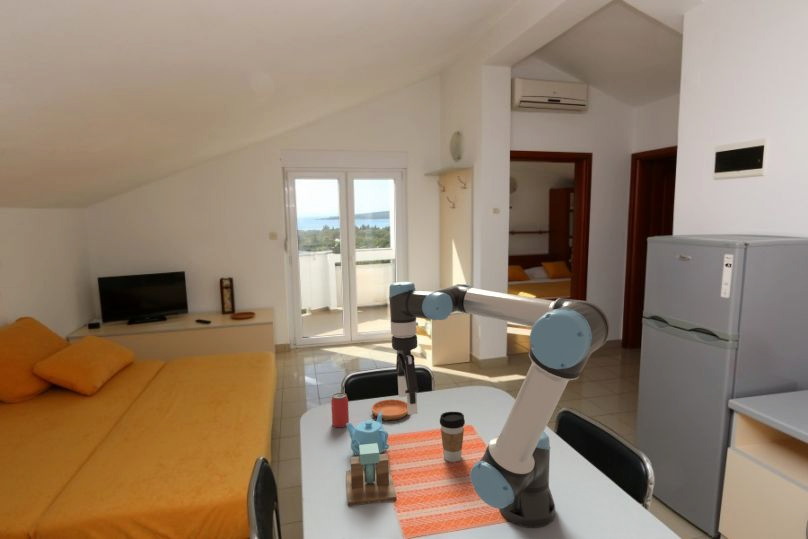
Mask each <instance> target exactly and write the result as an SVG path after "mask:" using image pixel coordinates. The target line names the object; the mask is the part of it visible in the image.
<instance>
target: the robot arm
mask: <svg viewBox="0 0 808 539" xmlns="http://www.w3.org/2000/svg"><path fill="white" fill-rule="evenodd" d="M388 294H389V295H388V296H389V297H388V299H389V310H390V311H389V312H390V334H391V335H392V336H391V348H392V349H393V350H395V351H396V364H395V371H396V374H397V387H398V388H397V389H398V390H397V391H398V392H397V393H398V398H403V397H406V403H407V411H408V413H407V415H408V416H410V415H417V414H418V398H417V395H418V394H417V393H418V392H419V386H418V379H417V372H416V365H415V357H414V355H413V354H412V350H415V349H417V347H418V335H417V331H418V330H417V328H418V327H417V326H418V325H419V322H418V321H417V318H419V319H421V318H422V319H428V320H432V321H445V320H446V319H448V318H449V316H450V315H451V314H452V313H455V312H456V313H457V312H458V313H463V314H464V313H465V314H467V315H468V314H469V315H473V316H474V315H475V316H480V317H484V318H488V319H493V320H498V321H503V322H507V323H510V324H511V323H512V324H517V325H521V326H527V327H531V330H530V334H529V345H530V346H531V347H530V349H529V352H528V356H529V359H530V361H531V364H530V367H529V369H528V370H527V373H526V375H525V378H524V379H523V382H522V384H521V387H520V389H519V391H518V393H517V395H516V398H515V399H514V402H513V405H512V407H511V409H510V412H509V413H508V416H507V418H506V420H505V423H504V424H503V427H502V429H501V432H500V433H499V435H498V436H494V437H492V438H491V439H490V441H489V443H488V445H487V447H486V449H485V451H484V453H483V456H482V457H481V459H479V460H478V461H476V462H475V463H474V465H472V467H471V469H470V473H469V478H470V483H471V485H472V486H473V490H474V492H475V493H476V495H477V496H478V498H480V499H481V500H482V501H483V502H484V503H485V504H487V505H488V506H489V507H491V508H495V509H499V512H500V513H501V515H502V516H503V517H504V518H505V519H506V520H508V521H509V522H511V523H513V524H515V525H517V526H520V527H521V526H522V527H525V528H541V527H545V526H547V525H549V524H551V523H552V522H553V521H554V519H555V516H556V504H555V501H554V498H553V495H552V492H551V489H550V485H549V484H550V460H551V459H550V454H551V453H550V452H551V446H550V438H549V435H548V434H546V432H545V430H546V429H547V428H546V427H547V425H548V423H549V421H550V420H551V417H552V416H553V414H554V411H555V409H556V408H557V406H558V403H559V401H560V399H561V397H562V396H563V393H564V391H565V389H566V387H567V385H568V383H569V381H574V380H577V379H579V378H580V376H581V374H582V372H583V370H584V369H585V368H584V367H585V366H586V364H587V362H588V360H589V358H590V356H592V354H593V353H594V352H596V351H597V350H599V349H600V348H601V347H603V346H604V345H605V344H606V342H607V341H608V339H609V337H610V334H611V322H610V319H609V317H608V314H607V313H606V312H605V311H604V309H603V308H602V307H600V306H599V305H598V304H596V303H593V302H590V301H588V300H579V299H570V298H563V297H558V298H557V299H556V300H550V299H543V298H538V297H531V296H525V295H520V294H518V295H517V294H512V293H505V292H500V291H499V292H498V291H492V290H487V289H480V288H475V287H472V286H471V285H470V284H468V283H460V284H459V283H458V284H455V285H450V286H448V287H447V286H446V287H442V288H437V289H434V290H427V291H426V290H416V287H415V283H414V282H413V281H412V282H411V281H398V282H397V281H396V282H392V283H391V284H390V285H389V293H388Z"/></svg>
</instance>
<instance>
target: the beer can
mask: <svg viewBox="0 0 808 539" xmlns="http://www.w3.org/2000/svg"><path fill="white" fill-rule="evenodd" d="M331 397H332V398H331V402H330V403H331V424H332V426H334V427H335V428H345V427H347V426H346V424H347V423H350V420H349V419H350V417H349V415H350V414H349V412H350V410H349V399H348V395H347V393H345V392H336V393H334V394H333V395H331Z"/></svg>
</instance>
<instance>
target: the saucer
mask: <svg viewBox="0 0 808 539" xmlns="http://www.w3.org/2000/svg"><path fill="white" fill-rule="evenodd" d="M380 412H383V414H382V420H385V421H395V420H399V419H402V418H404V417H405V416H406V415H408V411H407V401H404V400H402V399H384V400H380V401H377V402H375V403H374V404H373V405H372V406H371V413H372V414H373V415H374V416H376V417H377V418H378V415H379V413H380Z"/></svg>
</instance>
